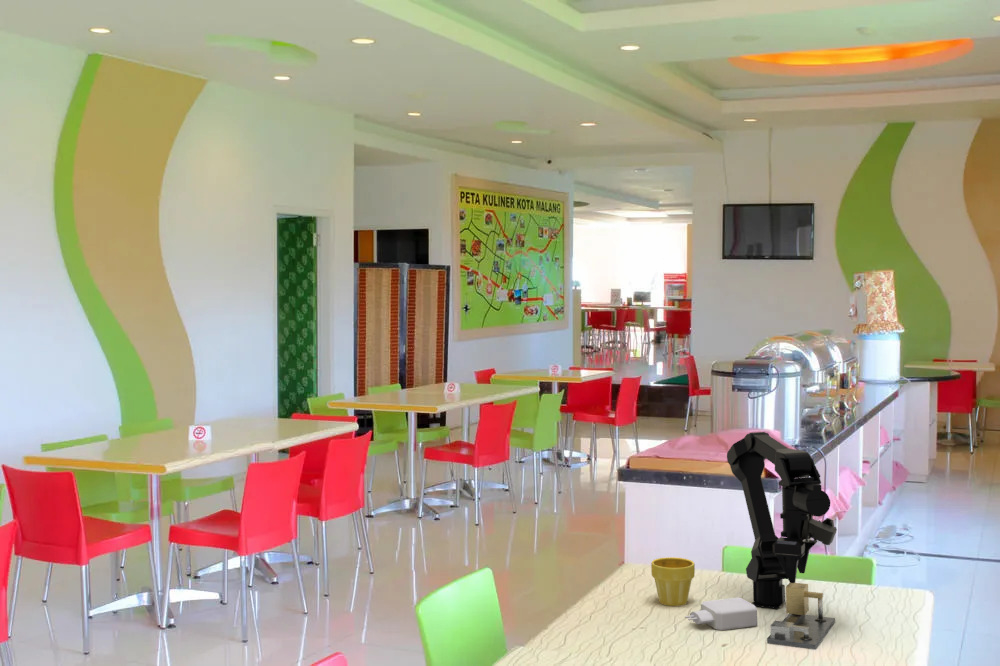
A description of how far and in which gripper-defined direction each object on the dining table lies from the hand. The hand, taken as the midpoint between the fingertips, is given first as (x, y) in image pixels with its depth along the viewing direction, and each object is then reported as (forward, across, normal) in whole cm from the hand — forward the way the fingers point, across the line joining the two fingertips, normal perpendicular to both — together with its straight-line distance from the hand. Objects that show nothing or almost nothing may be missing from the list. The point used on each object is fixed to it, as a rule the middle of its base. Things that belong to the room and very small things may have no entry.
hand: (797, 577), depth 236 cm
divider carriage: (+9, 0, -2) cm, 9 cm away
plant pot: (+10, +4, +31) cm, 33 cm away
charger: (+10, -8, +16) cm, 21 cm away
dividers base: (+10, -7, -2) cm, 12 cm away
